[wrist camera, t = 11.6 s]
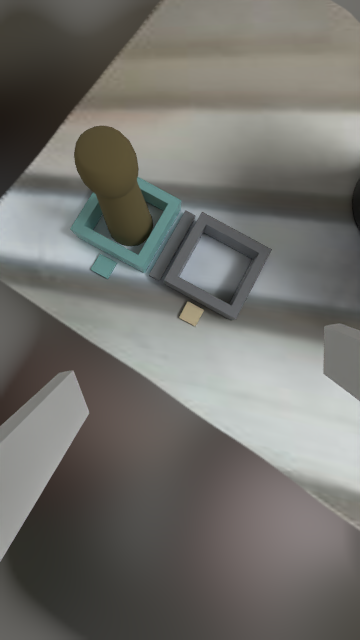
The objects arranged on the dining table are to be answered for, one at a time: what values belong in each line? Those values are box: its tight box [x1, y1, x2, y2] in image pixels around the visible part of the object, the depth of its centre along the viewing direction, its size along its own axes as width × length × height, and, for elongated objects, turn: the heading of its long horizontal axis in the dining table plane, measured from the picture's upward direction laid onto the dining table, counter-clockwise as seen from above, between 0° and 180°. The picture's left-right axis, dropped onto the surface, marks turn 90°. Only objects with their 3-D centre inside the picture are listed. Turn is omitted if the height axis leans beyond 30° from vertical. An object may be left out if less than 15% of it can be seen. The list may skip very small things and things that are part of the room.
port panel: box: [70, 177, 272, 326], centre depth 25 cm, size 13×23×2 cm, turn 62°
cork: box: [74, 126, 153, 246], centre depth 21 cm, size 6×6×11 cm
